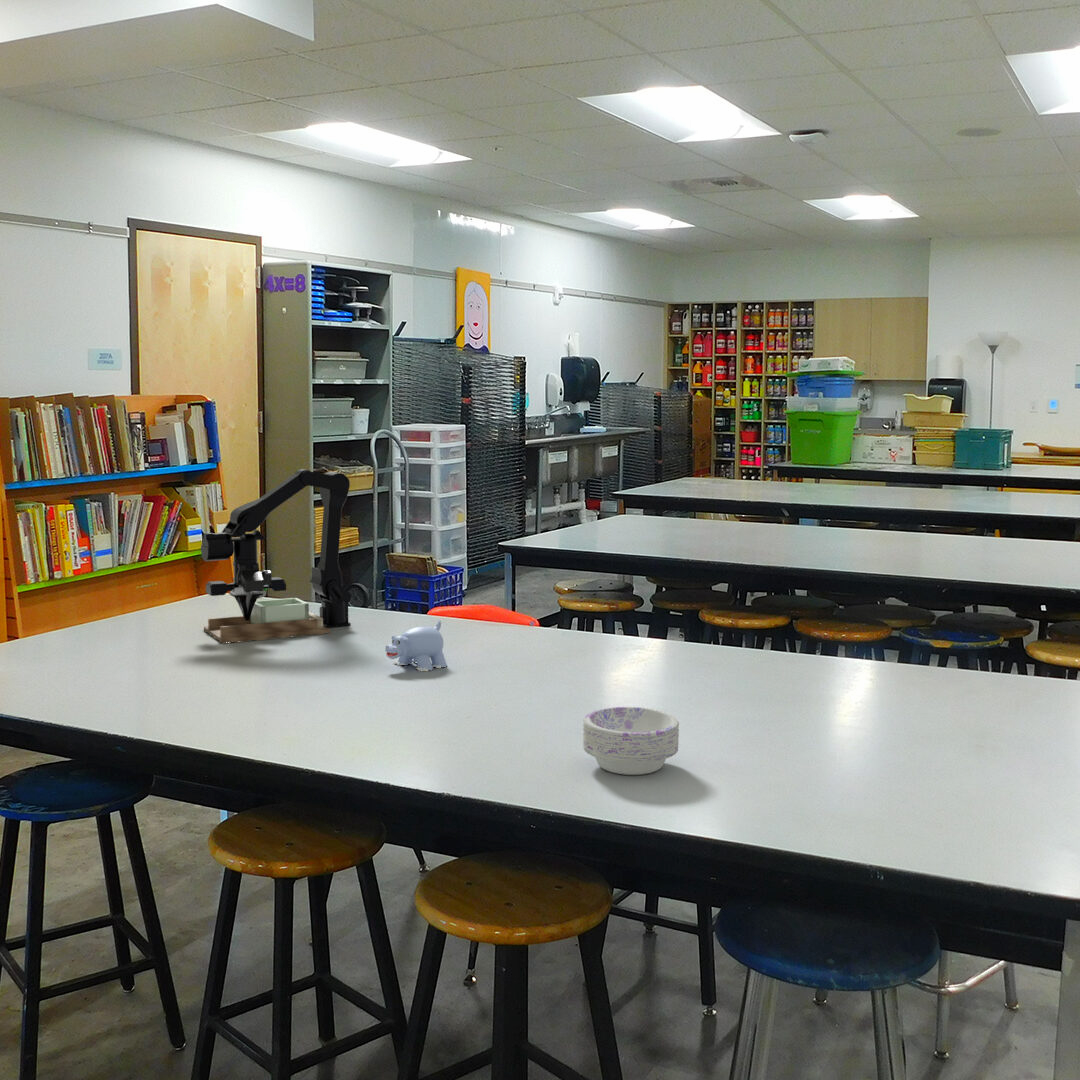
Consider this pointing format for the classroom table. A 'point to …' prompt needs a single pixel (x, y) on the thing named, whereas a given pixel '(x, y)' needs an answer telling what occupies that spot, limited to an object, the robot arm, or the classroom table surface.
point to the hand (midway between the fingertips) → (247, 620)
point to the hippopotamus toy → (418, 648)
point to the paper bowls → (630, 739)
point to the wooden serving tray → (262, 628)
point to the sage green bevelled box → (279, 610)
